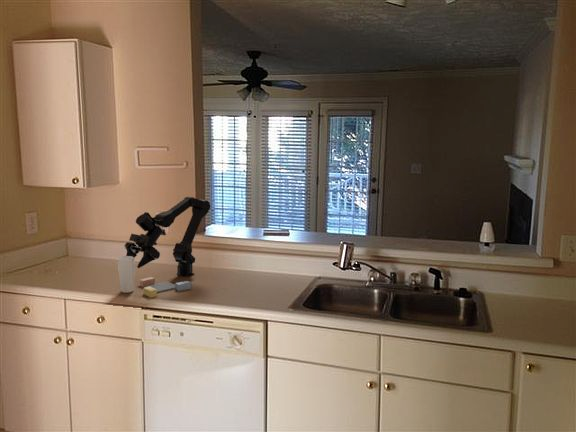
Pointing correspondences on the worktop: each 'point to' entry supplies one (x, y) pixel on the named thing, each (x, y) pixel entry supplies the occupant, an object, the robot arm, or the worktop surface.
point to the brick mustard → (150, 291)
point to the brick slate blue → (183, 285)
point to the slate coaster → (162, 286)
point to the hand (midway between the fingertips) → (131, 265)
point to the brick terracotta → (147, 281)
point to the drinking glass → (126, 273)
